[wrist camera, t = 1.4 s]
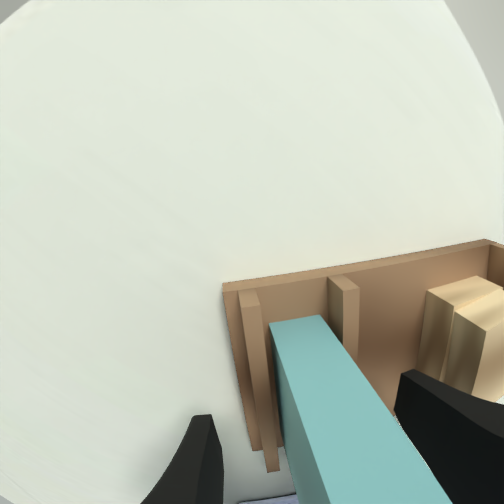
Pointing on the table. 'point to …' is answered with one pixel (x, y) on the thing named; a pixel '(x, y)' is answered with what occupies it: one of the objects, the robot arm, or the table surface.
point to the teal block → (340, 425)
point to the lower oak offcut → (446, 321)
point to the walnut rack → (345, 321)
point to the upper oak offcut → (478, 348)
